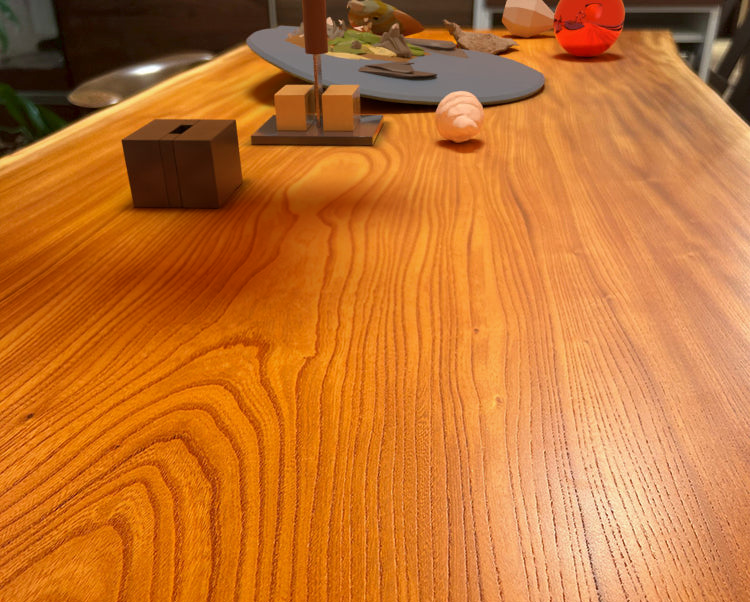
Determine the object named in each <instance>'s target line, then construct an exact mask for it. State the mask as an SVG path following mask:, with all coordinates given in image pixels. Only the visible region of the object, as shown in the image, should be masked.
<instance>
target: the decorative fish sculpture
mask: <svg viewBox="0 0 750 602" xmlns="http://www.w3.org/2000/svg"><path fill="white" fill-rule="evenodd" d="M347 5H348V8H349V11H348V13H347V20H348V22H349V25H350V26H351V28H352V30H356V31H359V32H363V33H364V32H369V33H372V34H375V35H379V36H382V35H383V33H384V32H387V33H388V32H389V30H390V28H391V27H392V26H393V25H394V24H396V23H398V24H399V31H400V35H402V34H403V36H404V38H406V37H410V36H412V35H416V34H419V33H422V32H424V31H425V30H426V27H424V25H423V24H422V23H420V21H418V20H417V19H415V18H414V17H412V16H411V15H409V14H407V13H406V12H403V11H401V10H400V9H398V8H396V7H395V6H393V5H390V4H389V3H388V4H387V3H385V2H383V1H382V0H362V1H359V0H349V1H348V2H347ZM364 18H368V20H367V21H366V22H365V21H364ZM349 20H352V21H353V23H350V21H349ZM370 22H372V25H371V28H369V27H368V30H367V31H365V29H364V27H362V28H360V29H361V30H362V31H360V30H358V29H355V28H354V27H361V26H367V25H368V24H369V23H370ZM370 31H371V32H370Z"/></svg>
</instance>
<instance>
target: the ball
mask: <svg viewBox="0 0 750 602" xmlns="http://www.w3.org/2000/svg"><path fill="white" fill-rule="evenodd" d="M625 22H626V9H625V5H624V2H623V0H559V2H558V3H557V5H556V8H555V11H554V19H553V28H552V30H553V33H554V34H553V35H554V37H555V40H556V42H557V43H558V44H559V46H560V48H562V49H563V50H564V51H565V52H566V53H568V54H570V55H572V56H576V57H579V58H581V57H582V58H589V57H596V56H597V57H598V56H599V55H601V54H603V53H605V52H606V51H608V50H609V49H610V48H612V46H613V45H614V44H615V43H616V42H617V41H618V39H619V37H620V36H621V34H622V31H623V29H624V26H625Z"/></svg>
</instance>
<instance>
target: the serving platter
mask: <svg viewBox="0 0 750 602" xmlns="http://www.w3.org/2000/svg"><path fill="white" fill-rule="evenodd" d="M346 9H349V5H348V4H347V5H346ZM326 19H327V39H328V53H325V54H321V69H322V87H323V89H327V88H328V87H329V86H330V85H360V98H366V99H371V100H375V101H376V100H377V101H383V102H390V103H391V102H392V103H401V104H413V105H428V106H429V105H430V106H438V105H439V104H440V102H441V101H442V100H443V99H444V98H445V97H446V96H447V95H448V94H450V93H453V92H458V91H466V92H469V93H471V94H473V95H474V96H475V97H476V98H477V99H478V101H479V102H480V103H481V105H482V106H489V105H499V104H506V103H511V102H516V101H517V102H518V101H520V100H524V99H526V98H529V97H532V96H534V95H536V93H539V91H540V90H541V89H542V88H543V86H544V85H545V83H546V77H545V75H544V73H543V72H541V71H538V70H537V69H535V68H533V67H530V66H528V65H526V64H525V63H522V62H520V61H517V60H515V59H511V58H508V57H504V56H500V55H497V54H494V55H493V54H488V53H483V52H477V51H471V50H464V49H460V48H459V47H457V43H455V42H454V41H452V40H443V39H431V38H430V39H429V38H428V39H427V38H415V37H405V38H404V36H403V34H402V35H400V31H399V24H398V23H396V24H394V25H393V26H392V27H391V28H390V30H389V32H388V33H387V32H384V33H383V35H382V36H379V35H375V34H372V33H369V32H364V33H363V32H359V31H356V30H355V29H358V30H360V31H362V30H361V29H360V28H362V27H364V29H365V31H367V30H368V27H369V28H371V25H372V22H370V23H369V24H368V25H367V26H361V27H354V28H355V29H348V28H347V27H346V23H345V19H342V20H340V19H338V22H339V23H340V25H341V29H340V27H339V26H337V24H336V22H335V20H333V19H332V17H331V16H329V17H326ZM367 20H368V18H364V21H365V22H366V21H367ZM349 21H350V23H353V21H352V20H349V19H348V22H349ZM350 23H349V24H350ZM370 32H371V31H370ZM245 40H246V41H245V42H246V43H245V44H246V45H247V46H248V48H249V49H250V50H251V52H253V53H254V55H256V56H258V57H259V58H260V59H262V60H263V61H265V62H266V63H268V64H269V65H272V66H273V67H275V68H277V69H279V70H281V71H282V72H284V73H286V74H288V75H291V76H292V77H295V78H296V79H299V80H302V81H304V82H307V83H308V84H311V85H314V86H315V81H314V64H313V54H306V53H305V41H304V25H303V21H302V22H300V25H299V26H293V25H292V26H291V25H278V26H277V27H275V28H265V29H259V30H257V31H254V32H253V33H251V34H250V35H248V37H247V38H246V39H245Z"/></svg>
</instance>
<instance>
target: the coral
mask: <svg viewBox="0 0 750 602" xmlns="http://www.w3.org/2000/svg"><path fill="white" fill-rule="evenodd" d="M442 22H443V25H444V27H445V29H446V30H447V32H448V33H449V35H450V36H452V37H453V38H454V40H455V42H456V46H458V47H457V48H458V49H464V50H471V51H477V52H483V53H488V54H493V55H497V54H498V53H501V52H506V51H507V49H510V48H512V47H513V46H519V44H518V42H517V41H515V40H514V39H513V38H511V37H510V38H509V37H508V38H506V37H501V36H500V35H496V34H494V33H492V32H486V33H485V32H474V31H473V32H471V31H463V30H462V28H461V26H460V25H458V24H457V23H455V22H454V21H453V22H449V21H448V20H447V19H442Z"/></svg>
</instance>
